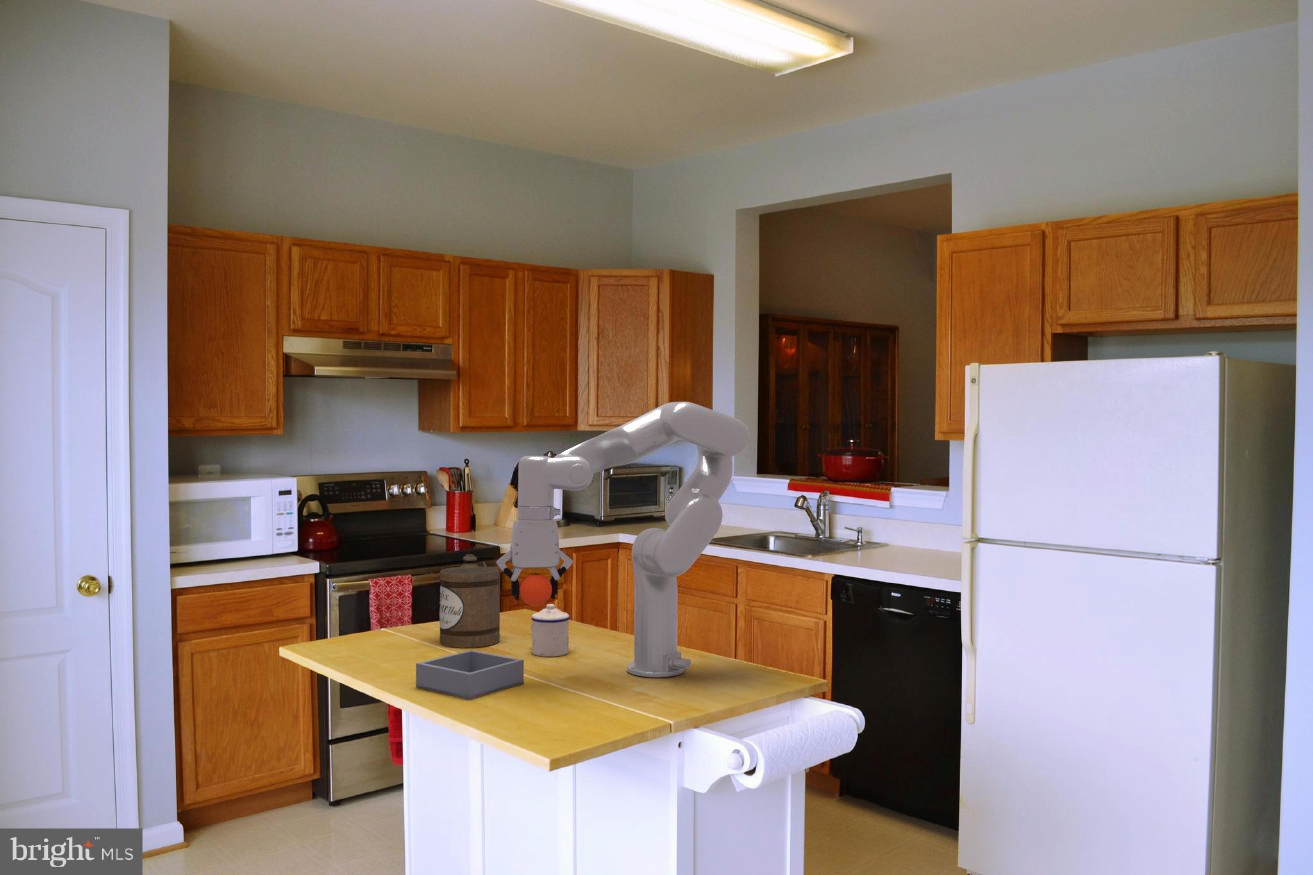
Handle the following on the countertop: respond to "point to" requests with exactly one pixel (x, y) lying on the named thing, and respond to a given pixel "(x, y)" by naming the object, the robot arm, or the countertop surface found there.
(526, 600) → the clementine
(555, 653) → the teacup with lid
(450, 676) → the bin
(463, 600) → the wooden container
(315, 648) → the countertop surface
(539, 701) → the countertop surface
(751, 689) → the countertop surface
